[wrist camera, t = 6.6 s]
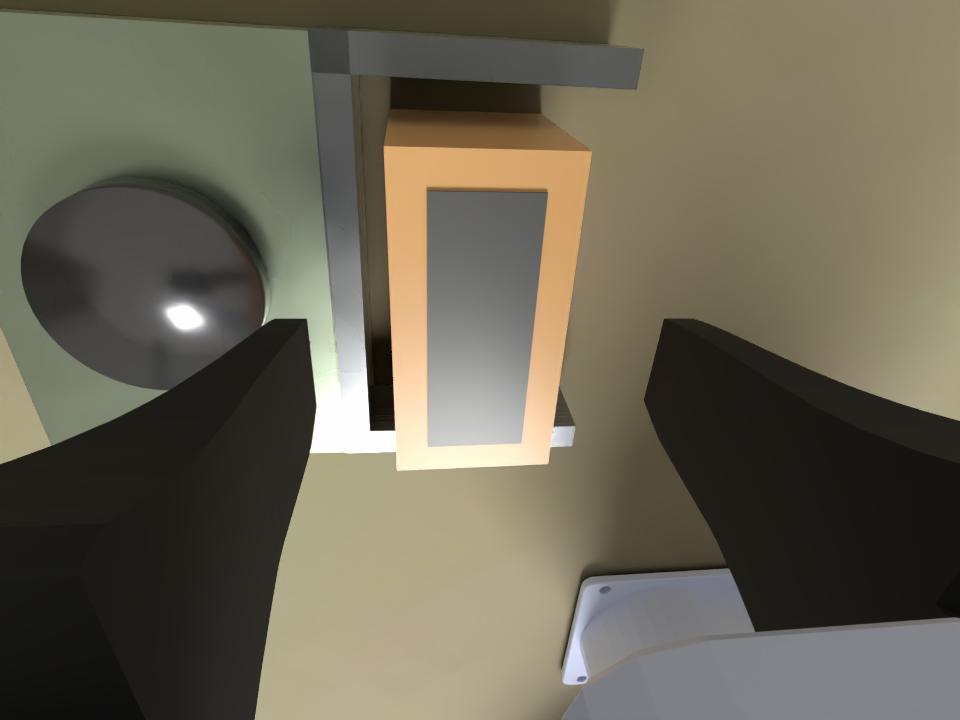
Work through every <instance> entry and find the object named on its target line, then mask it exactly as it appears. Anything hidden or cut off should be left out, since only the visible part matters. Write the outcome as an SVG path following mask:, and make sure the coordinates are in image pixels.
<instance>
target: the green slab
mask: <svg viewBox="0 0 960 720" xmlns="http://www.w3.org/2000/svg"><path fill="white" fill-rule="evenodd" d="M643 52H644V49H640V48H632V47H625V46H618V45H611V44H598V43H582V42H566V41H550V40H534V39H518V38H502V37H487V36H471V35H455V34H439V33H423V32H407V31H391V30H376V29H360V28H344V27H328V26H320V27H312V28H306V27H290V26H274V25H258V24H242V23H226V22H210V21H194V20H178V19H162V18H146V17H130V16H114V15H98V14H82V13H66V12H50V11H34V10H18V9H2V8H0V326H1V329H2V331H3V333H4V336H5V338H6V340H7V343H8V345H9V347H10V350H11V352H12V354H13V357H14V359H15V361H16V364H17V366H18V368H19V371H20V373H21V375H22V378H23V380H24V382H25V385H26V387H27V389H28V392H29V394H30V396H31V399H32V401H33V403H34V406H35V408H36V410H37V413H38V415H39V417H40V420H41V422H42V424H43V427H44V429H45V432H46V434H47V436H48V439H49V441H50V443H51V446H52V445H55V444H57V443H59V442H62V441H64V440H66V439H69V438H71V437H74V436H76V435H78V434H81V433H83V432H85V431H88V430H90V429H92V428H95V427H97V426H99V425H102V424H104V423H106V422H109V421H111V420H113V419H115V418H117V417H119V416H121V415H123V414H125V413H127V412H129V411H131V410H133V409H135V408H137V407H139V406H141V405H143V404H145V403H147V402H149V401H151V400H152V399H154V398H156V397H158V396H160V395H161V394H163V393H165V392H167V391H168V390H170V389H172V388H173V387H175V386H177V385H178V384H180V383H181V382H183V381H184V380H186V379H187V378H189V377H191V376H192V375H194V374H195V373H197V372H198V371H200V370H201V369H203V368H204V367H206V366H208V365H209V364H211V363H212V362H214V361H215V360H217V359H218V358H219V357H221V356H222V355H223V354H225V353H226V352H228V351H229V350H230V349H232V348H233V347H235V346H236V345H237V344H239V343H240V342H241V341H243V340H244V339H246V338H247V337H248V336H250V335H251V334H252V333H254V332H255V331H256V330H258V329H259V328H260V327H262V326H263V325H265V324H266V323H268V322H269V321H271V320H273V319H307V323H308V332H309V341H310V350H311V359H312V368H313V377H314V386H315V395H316V404H317V408H316V416H315V424H314V431H313V438H312V445H311V450H310V453H323V452H344V453H365V452H396V434H395V410H394V385H374V380H373V359H372V338H371V317H370V296H369V275H368V254H367V233H366V212H365V191H364V170H363V149H362V128H361V107H360V87H359V75H369V76H387V77H406V78H425V79H444V80H463V81H482V82H501V83H520V84H539V85H558V86H577V87H596V88H615V89H634V90H637V85H638V80H639V74H640V69H641V63H642V58H643ZM575 428H576V426H575V423H574V421H573V418H572V416H571V414H570V411H569V409H568V406H567V404H566V402H565V399H564V397H563V394H562V392H561V390H560V387H559V390H558V397H557V404H556V411H555V418H554V425H553V432H552V439H551V446H550V447H563V446H572V444H573V439H574V433H575Z"/></svg>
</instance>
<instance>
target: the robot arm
mask: <svg viewBox="0 0 960 720" xmlns="http://www.w3.org/2000/svg"><path fill="white" fill-rule="evenodd" d="M644 402H645V404H646V407H647V410H648V413H649V415H650V418H651V421H652V424H653V426H654V428H655V431H656V433H657V436H658V438H659V440H660V442H661V444H662V446H663V447H664V449H665V451H666V453H667V455H668V456H669V458H670V460H671V462H672V463H673V465H674V467H675V469H676V470H677V472H678V474H679V475H680V477H681V479H682V481H683V482H684V484H685V486H686V487H687V489H688V491H689V493H690V494H691V496H692V498H693V499H694V501H695V503H696V505H697V506H698V508H699V510H700V511H701V513H702V515H703V517H704V518H705V520H706V522H707V523H708V525H709V527H710V529H711V531H712V533H713V535H714V537H715V539H716V541H717V542H718V545H719V547H720V549H721V551H722V554H723V556H724V558H725V560H726V563H727V565H728V567H729V568H727V569H710V570H694V571H677V572H661V573H644V574H628V575H611V576H595V577H589V578H587V579H585V580H584V581H583V583H582V584H581V588H580V593H579V597H578V602H577V606H576V610H575V615H574V619H573V623H572V628H571V632H570V637H569V641H568V645H567V650H566V654H565V658H564V663H563V667H562V671H561V677H562V682H563V683H564V684H567V685H576V684H584V686H583V687H582V689H581V690H580V692H579V693H578V694H577V696H576V697H575V699H574V700H573V702H572V703H571V704H570V706H569V707H568V709H567V710H566V712H565V713H564V715H563V716H562V718H561V719H560V720H960V421H958V420H954V419H950V418H947V417H943V416H940V415H936V414H932V413H929V412H925V411H922V410H919V409H915V408H912V407H909V406H906V405H902V404H899V403H896V402H893V401H890V400H888V399H885V398H882V397H879V396H876V395H873V394H870V393H867V392H865V391H862V390H859V389H856V388H853V387H851V386H848V385H846V384H843V383H840V382H838V381H836V380H833V379H831V378H828V377H826V376H824V375H821V374H819V373H816V372H814V371H812V370H809V369H807V368H805V367H802V366H800V365H798V364H796V363H793V362H791V361H789V360H787V359H784V358H782V357H780V356H778V355H776V354H774V353H772V352H769V351H767V350H765V349H763V348H761V347H759V346H757V345H754V344H752V343H750V342H748V341H746V340H744V339H742V338H739V337H737V336H735V335H733V334H731V333H729V332H726V331H724V330H722V329H719V328H717V327H715V326H712V325H710V324H707V323H704V322H702V321H698V320H695V319H664V322H663V326H662V330H661V334H660V338H659V342H658V346H657V350H656V354H655V358H654V362H653V366H652V370H651V374H650V378H649V382H648V386H647V390H646V394H645V398H644ZM316 408H317V404H316V395H315V386H314V377H313V368H312V359H311V350H310V341H309V332H308V323H307V319H273V320H271V321H269V322H268V323H266V324H265V325H263V326H262V327H260V328H259V329H258V330H256V331H255V332H254V333H252V334H251V335H250V336H248V337H247V338H246V339H244V340H243V341H241V342H240V343H239V344H237V345H236V346H235V347H233V348H232V349H230V350H229V351H228V352H226V353H225V354H223V355H222V356H221V357H219V358H218V359H217V360H215V361H214V362H212V363H211V364H209V365H208V366H206V367H204V368H203V369H201V370H200V371H198V372H197V373H195V374H194V375H192V376H191V377H189V378H187V379H186V380H184V381H183V382H181V383H180V384H178V385H177V386H175V387H173V388H172V389H170V390H168V391H167V392H165V393H163V394H161V395H160V396H158V397H156V398H154V399H152V400H151V401H149V402H147V403H145V404H143V405H141V406H139V407H137V408H135V409H133V410H131V411H129V412H127V413H125V414H123V415H121V416H119V417H117V418H115V419H113V420H111V421H109V422H106V423H104V424H102V425H99V426H97V427H95V428H92V429H90V430H88V431H85V432H83V433H81V434H78V435H76V436H74V437H71V438H69V439H66V440H64V441H62V442H59V443H57V444H55V445H52V446H50V447H47V448H44V449H42V450H39V451H36V452H34V453H31V454H28V455H25V456H23V457H20V458H17V459H14V460H12V461H9V462H6V463H3V464H0V720H254V719H255V712H256V705H257V698H258V691H259V683H260V676H261V669H262V663H263V656H264V650H265V644H266V637H267V631H268V624H269V618H270V612H271V606H272V600H273V594H274V589H275V583H276V577H277V571H278V566H279V561H280V557H281V553H282V549H283V545H284V541H285V537H286V534H287V531H288V527H289V524H290V520H291V517H292V513H293V510H294V506H295V503H296V500H297V496H298V493H299V489H300V486H301V482H302V479H303V475H304V472H305V468H306V465H307V461H308V458H309V454H310V450H311V445H312V438H313V431H314V424H315V416H316Z"/></svg>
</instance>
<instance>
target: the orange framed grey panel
mask: <svg viewBox="0 0 960 720" xmlns="http://www.w3.org/2000/svg"><path fill="white" fill-rule="evenodd" d="M591 156H592V151H591V150H590V149H588V148H587V147H585V146H584V145H583V144H581V143H580V142H579V141H577V140H576V139H574V138H573V137H572V136H570V135H569V134H568V133H566V132H565V131H563V130H562V129H561V128H559V127H558V126H557V125H555V124H554V123H553V122H551V121H550V120H548V119H547V118H546V117H544V116H543V115H542V114H527V113H496V112H466V111H435V110H404V109H390V110H389V116H388V122H387V129H386V135H385V141H384V166H385V190H386V215H387V239H388V263H389V288H390V312H391V337H392V361H393V385H394V410H395V434H396V459H397V471H399V470H422V469H445V468H468V467H491V466H514V465H537V464H548V460H549V453H550V446H551V439H552V432H553V425H554V418H555V411H556V404H557V397H558V390H559V383H560V375H561V368H562V361H563V354H564V347H565V340H566V333H567V326H568V319H569V312H570V305H571V297H572V290H573V283H574V276H575V269H576V262H577V255H578V248H579V241H580V234H581V227H582V219H583V212H584V205H585V198H586V191H587V184H588V177H589V170H590V163H591Z"/></svg>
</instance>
